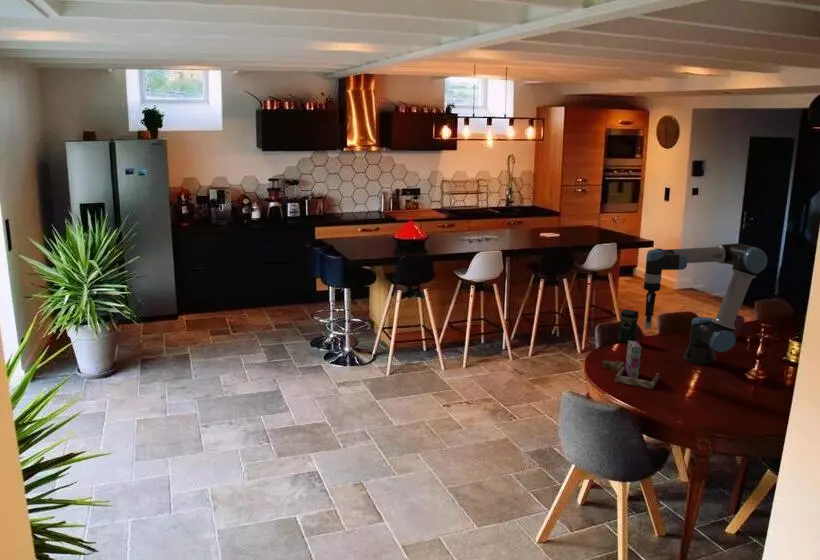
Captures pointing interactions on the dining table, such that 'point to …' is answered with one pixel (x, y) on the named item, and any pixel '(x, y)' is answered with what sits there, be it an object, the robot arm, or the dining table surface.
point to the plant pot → (738, 324)
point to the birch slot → (635, 380)
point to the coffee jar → (628, 326)
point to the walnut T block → (613, 365)
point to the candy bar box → (633, 359)
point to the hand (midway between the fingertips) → (648, 328)
